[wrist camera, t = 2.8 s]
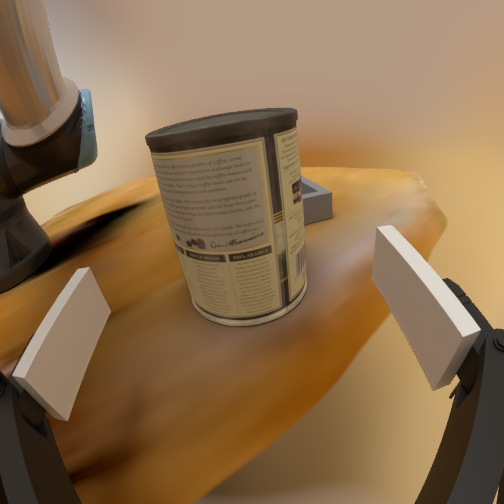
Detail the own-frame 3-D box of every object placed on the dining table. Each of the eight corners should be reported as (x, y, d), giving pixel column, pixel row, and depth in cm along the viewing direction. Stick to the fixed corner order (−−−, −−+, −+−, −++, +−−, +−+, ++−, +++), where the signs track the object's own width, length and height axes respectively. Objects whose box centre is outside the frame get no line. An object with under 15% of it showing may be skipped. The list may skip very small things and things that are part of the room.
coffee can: (194, 262, 29) (162, 125, 22) (294, 247, 29) (281, 105, 22) (184, 336, 20) (122, 144, 13) (321, 315, 21) (317, 112, 13)
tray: (181, 257, 30) (173, 230, 29) (172, 204, 46) (167, 185, 44) (332, 217, 34) (332, 192, 32) (276, 179, 49) (274, 161, 48)
